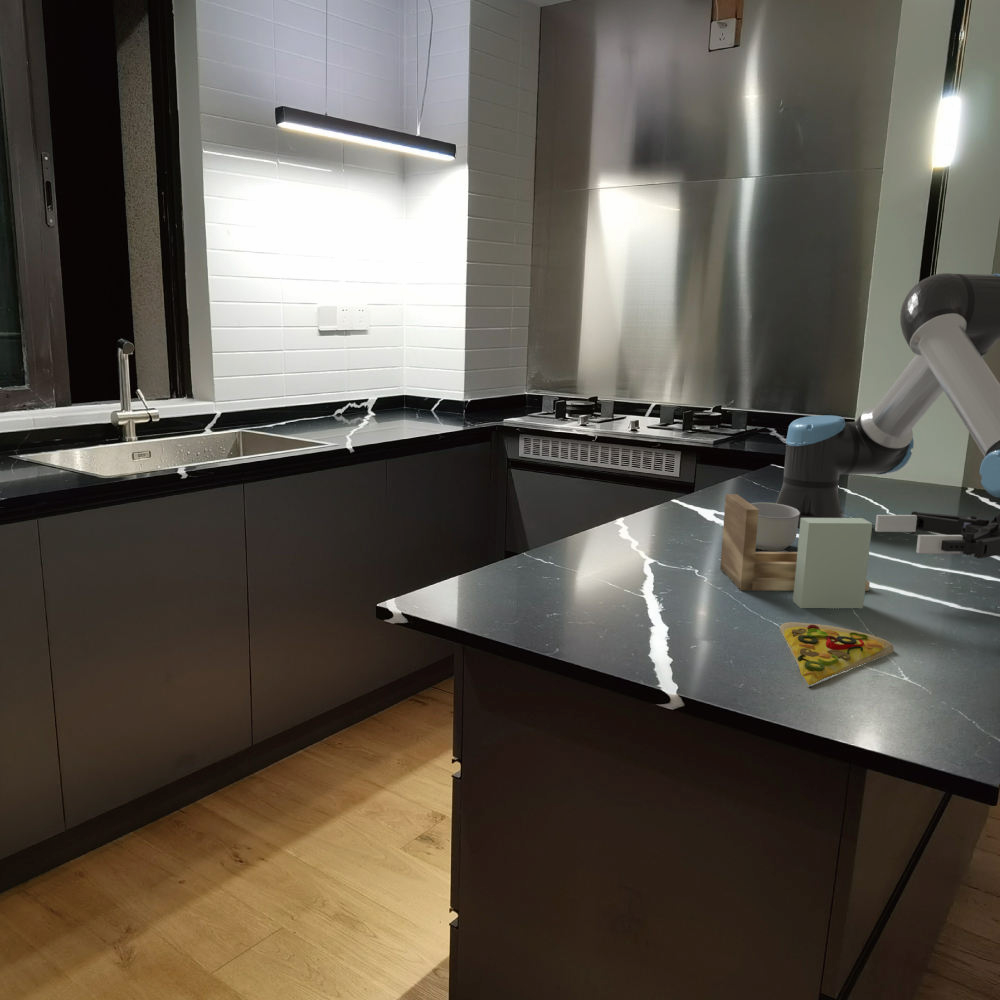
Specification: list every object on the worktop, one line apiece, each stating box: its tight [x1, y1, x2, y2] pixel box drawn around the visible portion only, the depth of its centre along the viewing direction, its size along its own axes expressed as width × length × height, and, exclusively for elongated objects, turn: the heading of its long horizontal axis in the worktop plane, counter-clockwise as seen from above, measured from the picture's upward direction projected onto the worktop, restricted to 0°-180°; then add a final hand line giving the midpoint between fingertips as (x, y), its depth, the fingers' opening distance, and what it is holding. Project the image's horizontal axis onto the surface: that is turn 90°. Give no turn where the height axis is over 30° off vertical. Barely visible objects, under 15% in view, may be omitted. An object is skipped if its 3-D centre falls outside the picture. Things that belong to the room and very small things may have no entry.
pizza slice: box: [779, 621, 895, 685], centre depth 117 cm, size 16×21×3 cm
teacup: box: [750, 502, 800, 552], centre depth 172 cm, size 14×11×8 cm
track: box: [719, 493, 870, 592], centre depth 150 cm, size 22×12×14 cm, turn 92°
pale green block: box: [792, 517, 873, 610], centre depth 138 cm, size 10×4×14 cm, turn 92°
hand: (896, 533), depth 137 cm, fingers open, 13 cm apart
